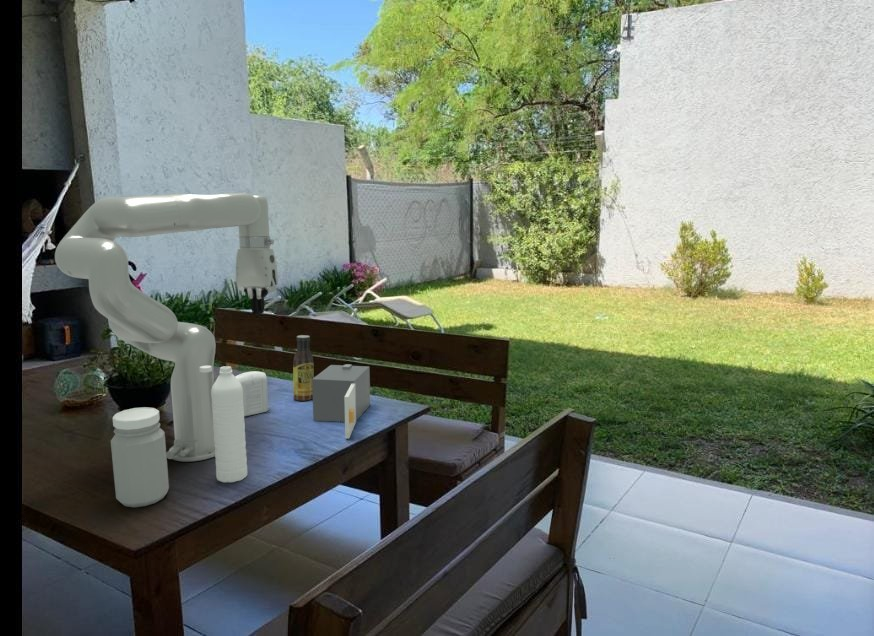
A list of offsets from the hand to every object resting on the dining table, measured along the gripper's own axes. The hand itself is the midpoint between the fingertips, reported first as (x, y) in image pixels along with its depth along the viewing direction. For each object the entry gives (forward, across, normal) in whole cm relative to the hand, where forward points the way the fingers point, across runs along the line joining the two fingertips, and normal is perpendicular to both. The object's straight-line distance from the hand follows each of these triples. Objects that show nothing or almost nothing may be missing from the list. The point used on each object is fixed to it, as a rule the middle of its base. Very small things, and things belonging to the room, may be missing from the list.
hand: (258, 313), depth 162 cm
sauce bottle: (+31, 0, -25) cm, 40 cm away
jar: (+31, +2, +44) cm, 54 cm away
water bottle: (+31, -9, +31) cm, 45 cm away
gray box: (+31, -17, -16) cm, 39 cm away
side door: (+31, -25, -2) cm, 40 cm away
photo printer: (+31, +9, -8) cm, 34 cm away
